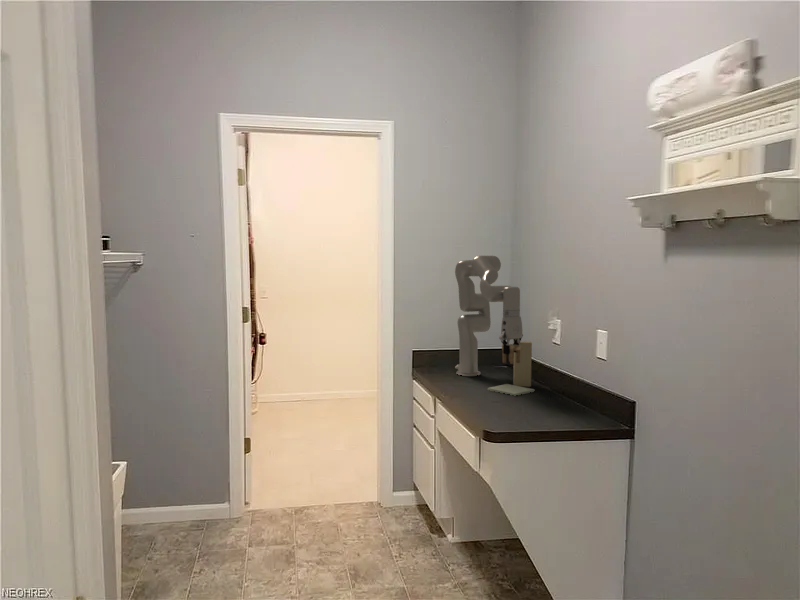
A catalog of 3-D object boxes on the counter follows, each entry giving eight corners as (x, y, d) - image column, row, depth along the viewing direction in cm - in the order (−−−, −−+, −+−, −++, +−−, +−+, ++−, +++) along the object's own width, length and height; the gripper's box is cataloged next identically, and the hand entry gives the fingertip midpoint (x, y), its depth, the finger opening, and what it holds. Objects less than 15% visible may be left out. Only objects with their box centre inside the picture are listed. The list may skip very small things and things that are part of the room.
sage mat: (487, 390, 269) (487, 388, 269) (507, 385, 278) (507, 383, 278) (514, 396, 257) (514, 393, 257) (534, 391, 266) (534, 389, 266)
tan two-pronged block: (512, 364, 262) (512, 346, 262) (501, 362, 267) (501, 345, 266) (520, 362, 266) (520, 345, 265) (510, 361, 271) (510, 344, 270)
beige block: (529, 383, 283) (529, 340, 282) (531, 386, 276) (531, 342, 274) (512, 383, 284) (513, 340, 282) (514, 386, 277) (514, 342, 275)
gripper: (505, 315, 257) (505, 356, 258) (530, 313, 268) (529, 352, 269) (492, 314, 262) (492, 354, 263) (517, 312, 273) (516, 350, 274)
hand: (511, 352), depth 266 cm, fingers closed on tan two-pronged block, 6 cm apart
